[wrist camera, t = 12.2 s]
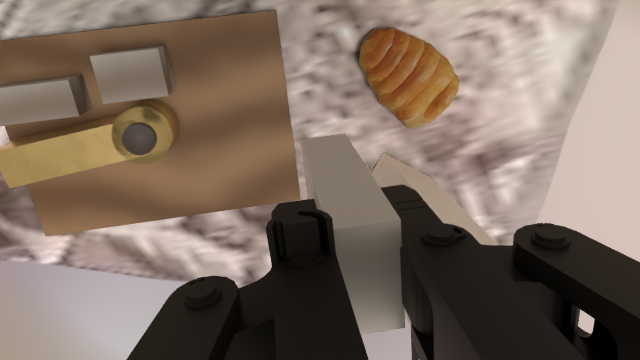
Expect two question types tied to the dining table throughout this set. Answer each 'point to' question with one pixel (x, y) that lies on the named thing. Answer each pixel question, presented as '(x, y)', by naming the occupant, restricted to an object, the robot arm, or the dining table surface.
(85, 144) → the latch bar
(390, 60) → the pastry
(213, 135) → the board
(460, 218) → the milk
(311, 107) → the dining table surface
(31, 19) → the dining table surface
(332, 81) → the dining table surface
